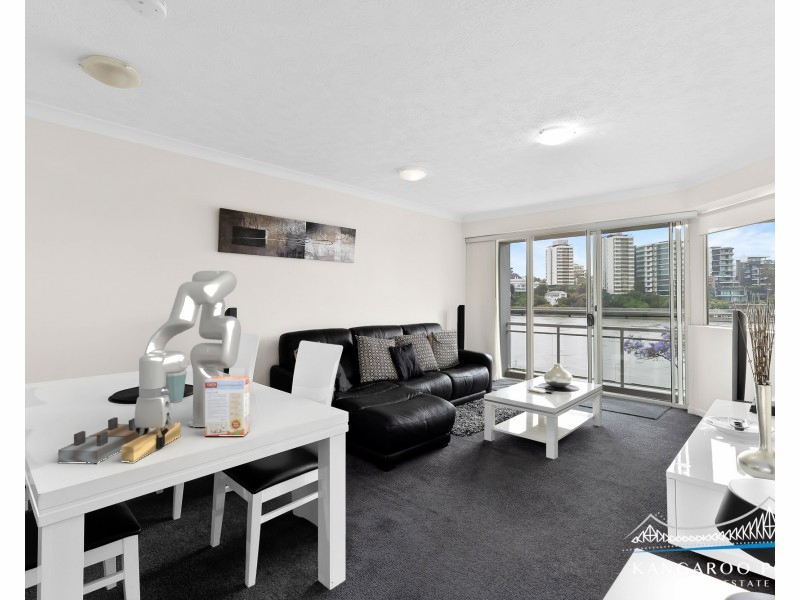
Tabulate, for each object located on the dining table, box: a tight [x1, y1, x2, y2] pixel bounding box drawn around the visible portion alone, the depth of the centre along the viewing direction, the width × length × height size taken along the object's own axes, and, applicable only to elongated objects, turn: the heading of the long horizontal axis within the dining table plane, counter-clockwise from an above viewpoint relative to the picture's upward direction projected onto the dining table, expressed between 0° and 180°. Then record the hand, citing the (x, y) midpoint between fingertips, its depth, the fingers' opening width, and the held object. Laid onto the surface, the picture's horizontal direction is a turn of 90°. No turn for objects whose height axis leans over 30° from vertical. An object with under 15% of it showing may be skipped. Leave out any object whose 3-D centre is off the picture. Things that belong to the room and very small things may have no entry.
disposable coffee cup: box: [166, 368, 188, 404], centre depth 190 cm, size 11×11×15 cm
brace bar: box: [120, 421, 181, 463], centre depth 133 cm, size 4×22×5 cm, turn 175°
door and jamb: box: [57, 416, 150, 463], centre depth 133 cm, size 12×24×8 cm, turn 178°
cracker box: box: [204, 376, 250, 436], centre depth 147 cm, size 14×6×21 cm, turn 92°
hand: (153, 447), depth 133 cm, fingers closed on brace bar, 4 cm apart
